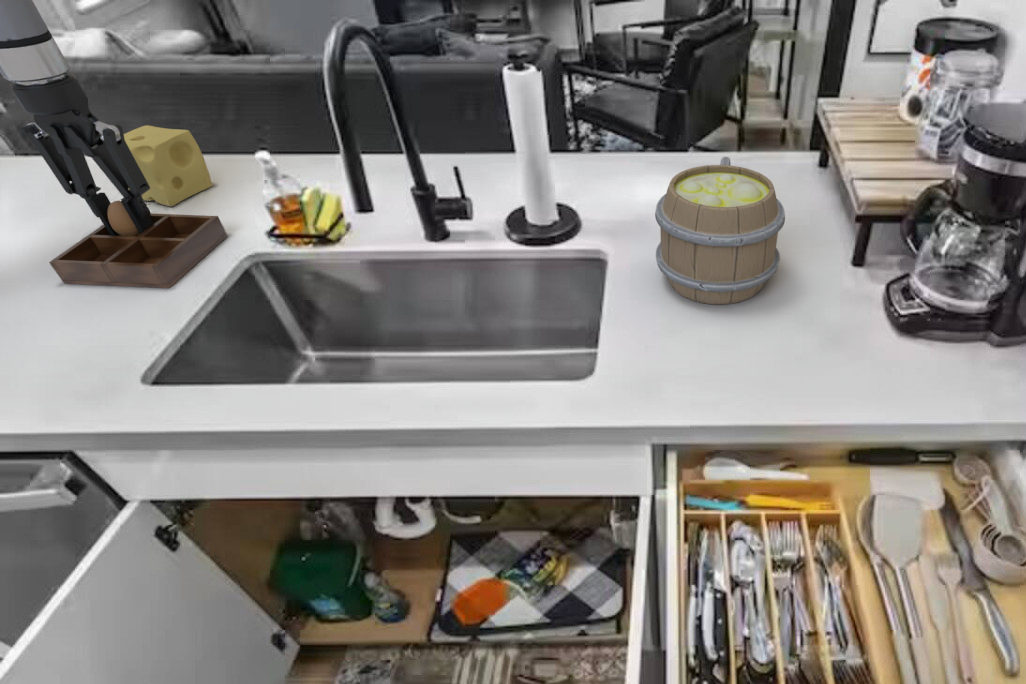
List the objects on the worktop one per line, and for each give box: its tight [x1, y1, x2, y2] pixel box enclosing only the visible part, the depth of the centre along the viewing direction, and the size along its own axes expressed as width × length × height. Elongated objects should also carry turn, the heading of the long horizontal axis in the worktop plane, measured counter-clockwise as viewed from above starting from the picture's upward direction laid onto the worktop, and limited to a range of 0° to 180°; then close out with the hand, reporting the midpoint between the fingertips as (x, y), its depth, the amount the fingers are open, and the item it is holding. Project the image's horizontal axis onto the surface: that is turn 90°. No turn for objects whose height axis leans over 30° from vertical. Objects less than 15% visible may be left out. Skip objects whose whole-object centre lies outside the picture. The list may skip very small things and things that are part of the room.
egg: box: [108, 200, 140, 237], centre depth 106 cm, size 4×4×6 cm
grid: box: [49, 212, 229, 289], centre depth 105 cm, size 16×16×4 cm
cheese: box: [123, 124, 214, 207], centre depth 120 cm, size 10×11×10 cm
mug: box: [654, 156, 786, 306], centre depth 100 cm, size 19×25×15 cm
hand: (135, 235), depth 108 cm, fingers closed on egg, 4 cm apart
